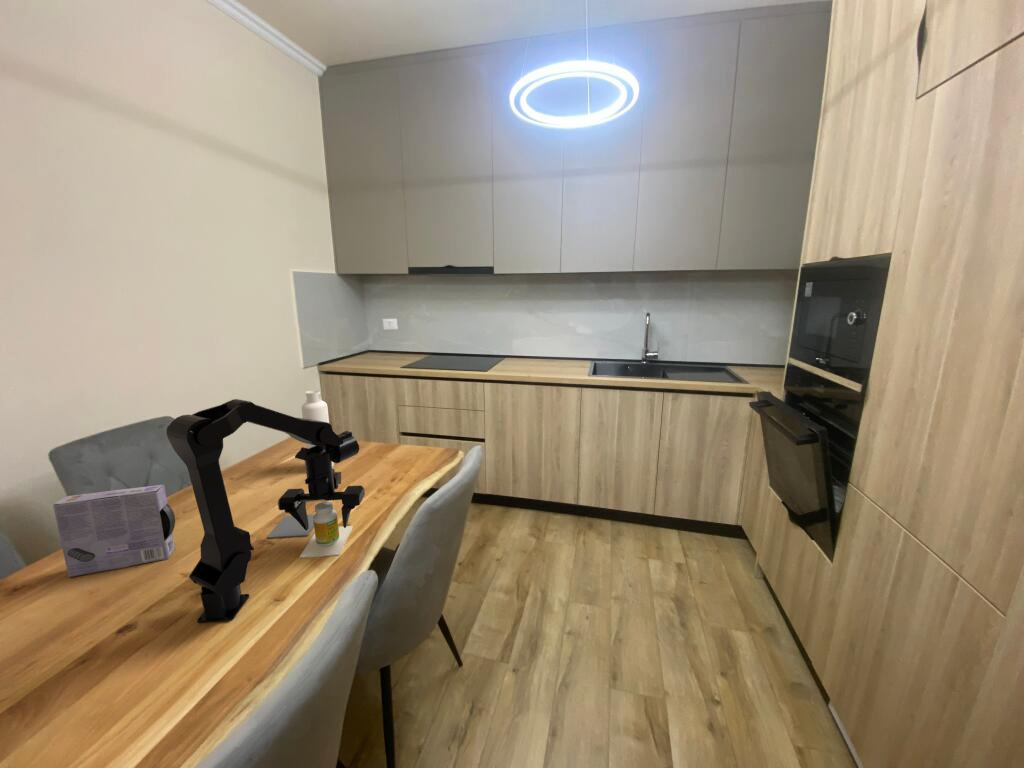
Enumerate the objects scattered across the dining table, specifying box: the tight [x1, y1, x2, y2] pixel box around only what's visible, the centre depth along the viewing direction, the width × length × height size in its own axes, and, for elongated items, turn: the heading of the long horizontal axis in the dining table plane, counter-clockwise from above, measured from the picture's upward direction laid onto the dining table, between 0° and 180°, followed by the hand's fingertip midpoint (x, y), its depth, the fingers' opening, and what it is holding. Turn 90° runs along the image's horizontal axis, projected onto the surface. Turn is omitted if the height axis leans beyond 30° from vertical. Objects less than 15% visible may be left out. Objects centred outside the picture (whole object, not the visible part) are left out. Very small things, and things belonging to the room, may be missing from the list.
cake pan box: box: [52, 484, 176, 578], centre depth 93 cm, size 19×5×18 cm, turn 111°
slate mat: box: [266, 513, 316, 540], centre depth 109 cm, size 10×10×1 cm
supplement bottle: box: [313, 501, 339, 546], centre depth 101 cm, size 5×5×10 cm
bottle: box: [301, 389, 335, 468], centre depth 142 cm, size 8×8×28 cm
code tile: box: [299, 525, 354, 559], centre depth 102 cm, size 12×9×1 cm
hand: (326, 528), depth 101 cm, fingers open, 9 cm apart
